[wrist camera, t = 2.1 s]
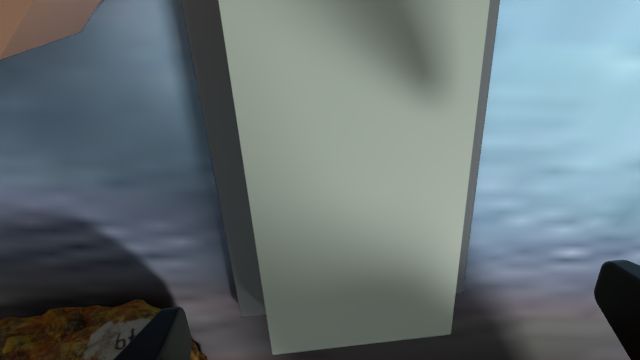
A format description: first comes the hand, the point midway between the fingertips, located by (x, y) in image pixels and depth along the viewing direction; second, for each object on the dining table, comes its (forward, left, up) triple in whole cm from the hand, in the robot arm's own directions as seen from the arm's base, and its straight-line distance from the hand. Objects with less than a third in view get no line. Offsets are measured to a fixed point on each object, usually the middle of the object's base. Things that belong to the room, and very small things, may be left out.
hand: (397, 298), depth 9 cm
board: (0, 0, -6) cm, 6 cm away
